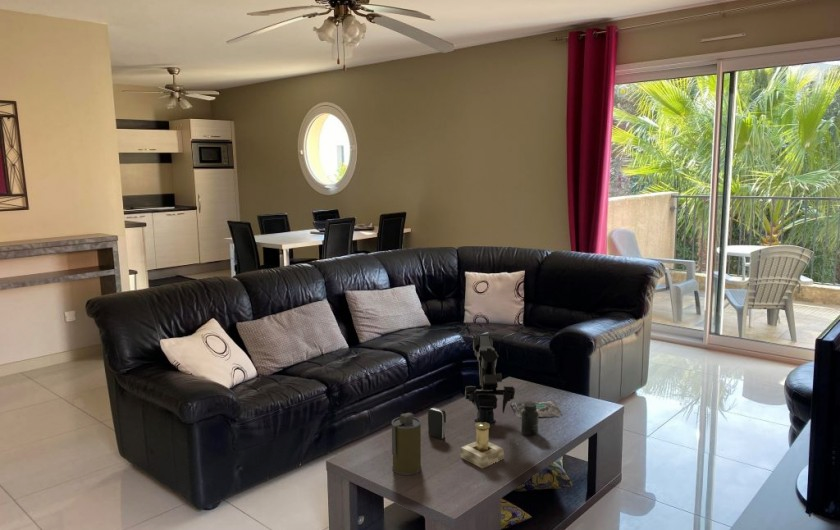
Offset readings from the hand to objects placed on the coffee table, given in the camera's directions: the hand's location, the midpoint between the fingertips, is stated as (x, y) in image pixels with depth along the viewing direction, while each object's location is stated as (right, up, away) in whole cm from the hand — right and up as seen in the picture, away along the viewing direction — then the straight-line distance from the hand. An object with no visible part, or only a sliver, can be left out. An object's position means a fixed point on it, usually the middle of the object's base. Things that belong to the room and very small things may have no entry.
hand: (491, 412), depth 230 cm
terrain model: (+24, -10, +39) cm, 47 cm away
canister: (-32, -17, -12) cm, 38 cm away
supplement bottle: (+17, -12, +16) cm, 27 cm away
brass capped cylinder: (-4, -16, -5) cm, 17 cm away
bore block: (-4, -16, -5) cm, 17 cm away
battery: (-20, -13, +14) cm, 28 cm away
